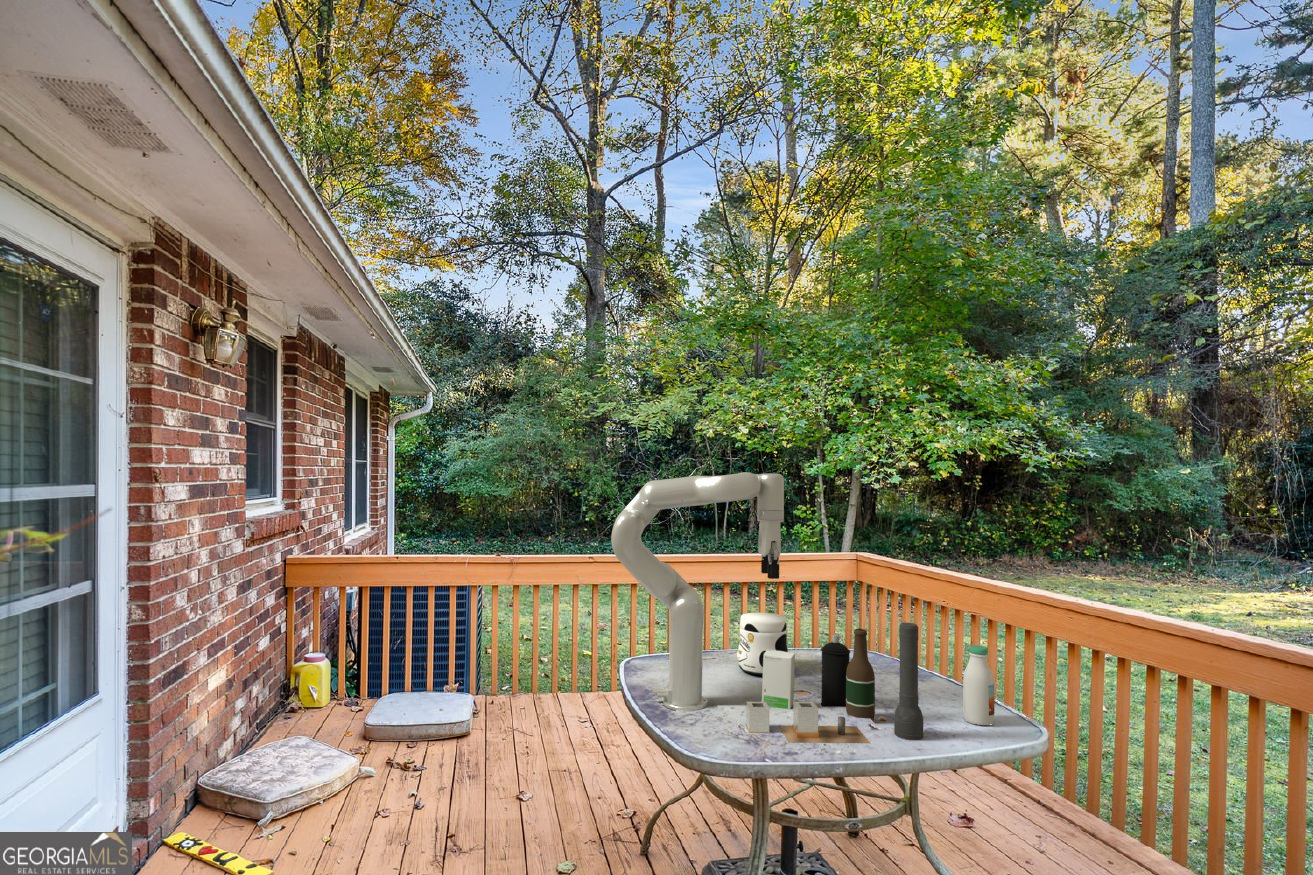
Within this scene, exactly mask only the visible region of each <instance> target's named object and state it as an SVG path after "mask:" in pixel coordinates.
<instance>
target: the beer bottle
mask: <svg viewBox="0 0 1313 875" xmlns="http://www.w3.org/2000/svg"><path fill="white" fill-rule="evenodd" d="M853 634H854V637H853V638H854V639H853V651H852V652H853V653H852V658H851V660H849V664H848V667H847V671H846V707H845V711H846V714H847V715H848V716H851V717H854V718H855V719H856V718H857V719H870V720H871V721H872V722H875V719H876V718H875V716H876V708H875V707H876V677H875V671H874V668H873V666H872V664H871V662H870V661H869V656H868V642H867V641H868V640H867V639H868V638H867V635H868V631H867V629H865V628H854V630H853Z"/></svg>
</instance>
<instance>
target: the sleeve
mask: <svg viewBox="0 0 1313 875" xmlns="http://www.w3.org/2000/svg"><path fill="white" fill-rule="evenodd" d="M745 706H746V707H745V708H746V711H745V712H746V713H745V714H746V720H745V721H746V724H745V726H746V729H747V732H748V733H749V734H771V732H770V707H768V705H767V703H766V702H762V701H746V705H745Z"/></svg>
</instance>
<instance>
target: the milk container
mask: <svg viewBox="0 0 1313 875" xmlns="http://www.w3.org/2000/svg"><path fill="white" fill-rule="evenodd" d="M739 619H740V620H739V621H740V622H739V644H738V648H737V652H736V660H737V666H738V667H739V668H740V670H742V671H743V672H745V673H747V674H752V675H757V676H763V657H764V653H765V652H766V651H767V649H769V650H776V651H784V652H789V649H788V644H787V640H788V630H787V618H786V616H785V615H781V614H777V613H774V612H773V613H772V612H756V611H755V612H747V613H743V614H742V615H740V618H739Z"/></svg>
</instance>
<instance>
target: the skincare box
mask: <svg viewBox="0 0 1313 875" xmlns="http://www.w3.org/2000/svg"><path fill="white" fill-rule="evenodd" d="M795 661H796V653H795V652H791V651H790V652H789V651H788V652H784V651H776V650H769V649H767V651H766V652H765V653H764V657H763V675H762V682H761V683H762V688H761V689H762V690H761V702H766V703H767V705H768V707H769V708H778V709H785V710H786V709H787V710H791V709H792V707H794V698H795V696H794V694H795V670H796V668H795V665H796V662H795Z"/></svg>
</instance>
